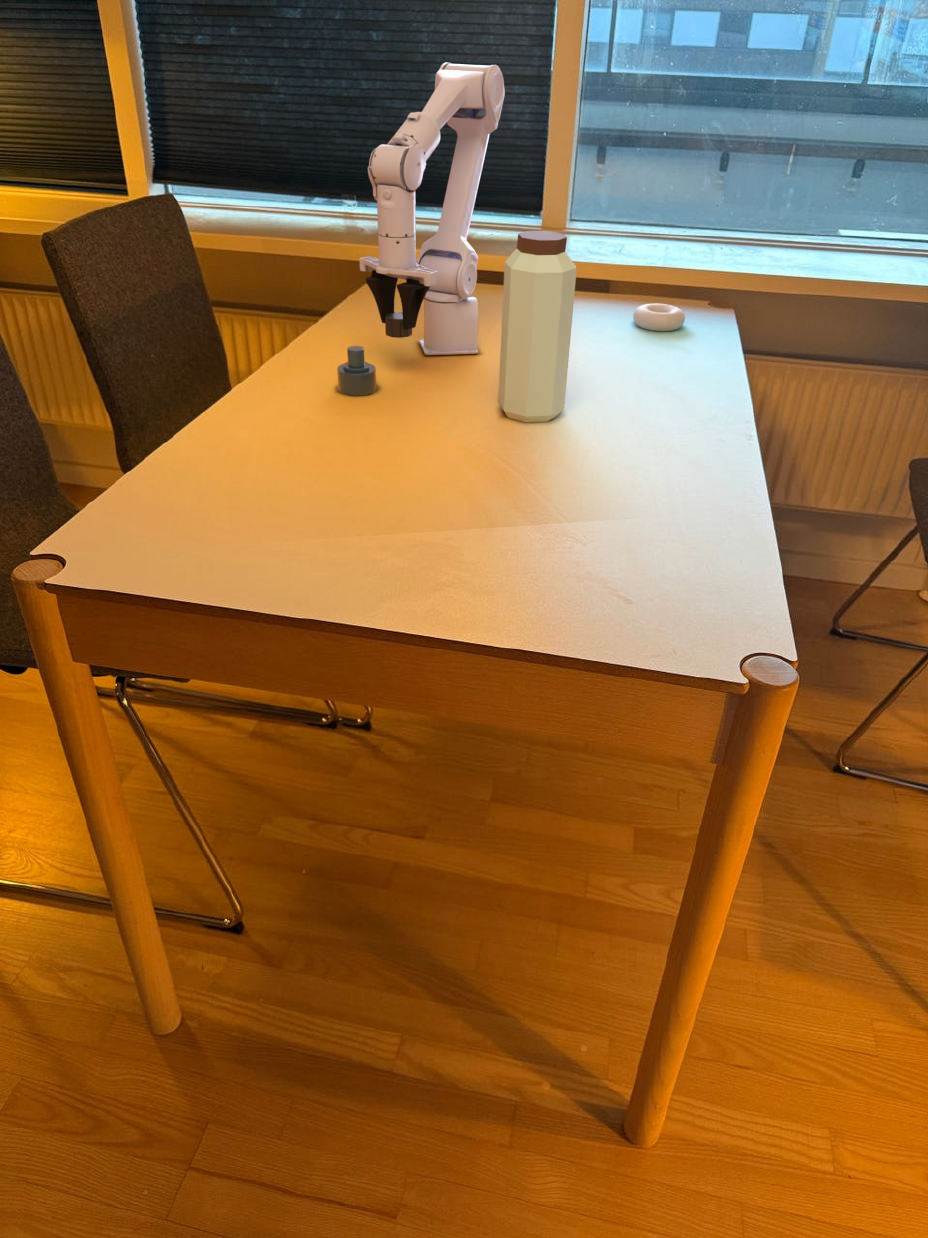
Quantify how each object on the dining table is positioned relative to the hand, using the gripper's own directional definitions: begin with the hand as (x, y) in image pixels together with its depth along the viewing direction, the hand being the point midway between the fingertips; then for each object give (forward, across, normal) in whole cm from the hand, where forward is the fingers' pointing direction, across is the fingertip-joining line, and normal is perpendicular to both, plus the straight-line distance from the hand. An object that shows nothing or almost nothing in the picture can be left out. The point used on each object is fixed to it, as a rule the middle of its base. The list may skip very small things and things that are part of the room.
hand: (398, 324), depth 143 cm
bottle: (+8, 0, -10) cm, 13 cm away
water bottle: (+8, +26, 0) cm, 27 cm away
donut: (+8, +18, +55) cm, 59 cm away
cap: (+1, 0, 0) cm, 1 cm away
